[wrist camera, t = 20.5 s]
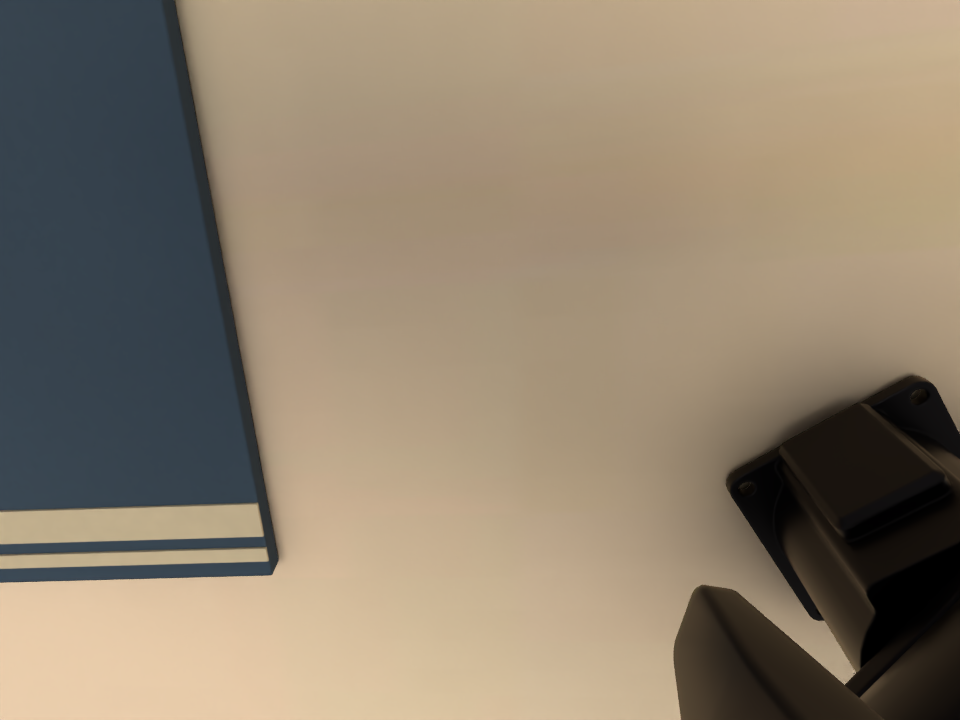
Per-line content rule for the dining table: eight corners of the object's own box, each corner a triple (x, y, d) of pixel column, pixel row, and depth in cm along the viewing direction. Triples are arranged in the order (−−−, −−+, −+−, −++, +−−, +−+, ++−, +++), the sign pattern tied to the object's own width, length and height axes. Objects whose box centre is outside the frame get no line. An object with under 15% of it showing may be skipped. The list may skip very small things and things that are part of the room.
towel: (279, 560, 24) (271, 578, 23) (-40, 569, 24) (-59, 587, 23) (147, -153, 16) (128, -165, 16) (-309, -123, 17) (-351, -133, 16)
